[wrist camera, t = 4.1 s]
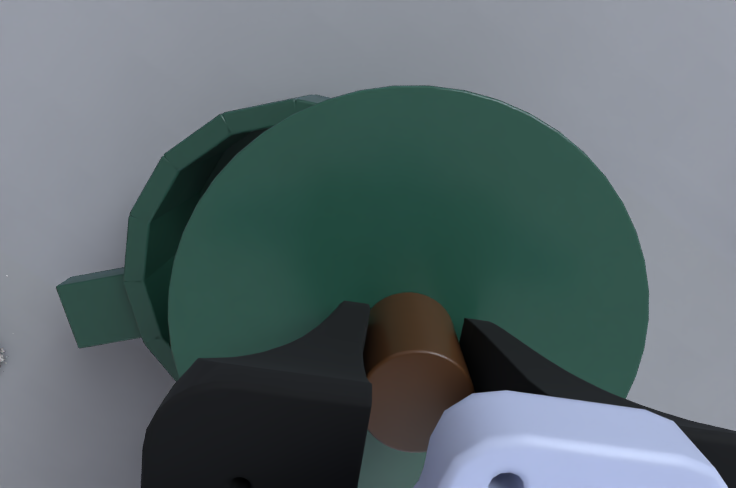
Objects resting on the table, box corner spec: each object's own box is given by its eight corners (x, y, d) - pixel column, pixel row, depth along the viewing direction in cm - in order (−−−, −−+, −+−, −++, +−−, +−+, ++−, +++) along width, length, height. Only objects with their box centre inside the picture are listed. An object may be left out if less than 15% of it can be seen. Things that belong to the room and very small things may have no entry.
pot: (528, 321, 25) (575, 392, 19) (167, 383, 26) (109, 468, 20) (496, 57, 22) (541, 48, 16) (86, 139, 23) (-10, 159, 17)
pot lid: (643, 465, 17) (733, 592, 13) (246, 530, 17) (207, 669, 13) (613, 36, 13) (722, 16, 9) (120, 139, 14) (15, 164, 10)
